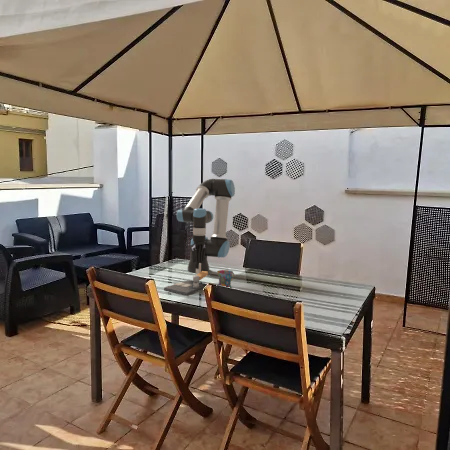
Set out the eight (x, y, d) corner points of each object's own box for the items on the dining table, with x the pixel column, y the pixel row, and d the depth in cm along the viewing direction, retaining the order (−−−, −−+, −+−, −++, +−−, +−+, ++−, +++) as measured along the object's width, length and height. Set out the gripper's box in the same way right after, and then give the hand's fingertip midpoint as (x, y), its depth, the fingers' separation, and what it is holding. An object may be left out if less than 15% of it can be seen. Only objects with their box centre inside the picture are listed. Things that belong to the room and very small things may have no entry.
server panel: (189, 282, 235) (189, 274, 234) (210, 287, 226) (210, 278, 225) (164, 290, 217) (164, 281, 216) (186, 295, 208) (186, 286, 207)
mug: (224, 293, 215) (224, 274, 213) (213, 289, 221) (213, 271, 220) (239, 289, 223) (239, 271, 222) (228, 286, 230) (228, 268, 228)
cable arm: (208, 275, 232) (208, 270, 231) (198, 282, 215) (198, 277, 215) (202, 275, 233) (202, 270, 232) (192, 281, 216) (192, 276, 216)
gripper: (201, 233, 235) (199, 270, 238) (187, 235, 224) (186, 274, 227) (210, 234, 231) (209, 272, 234) (197, 236, 220) (196, 276, 223)
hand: (198, 273), depth 230 cm, fingers closed
